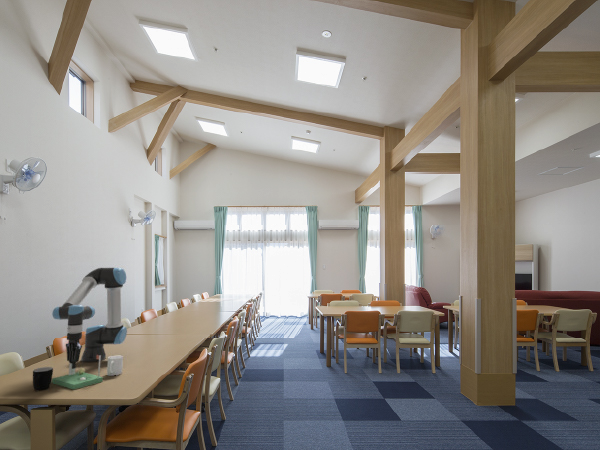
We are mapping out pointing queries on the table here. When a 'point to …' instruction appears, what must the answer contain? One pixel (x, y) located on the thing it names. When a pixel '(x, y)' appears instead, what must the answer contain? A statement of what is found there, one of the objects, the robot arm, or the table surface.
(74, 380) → the green
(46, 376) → the mug
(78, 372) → the yellow ball
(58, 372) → the table surface
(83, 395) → the table surface
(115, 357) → the cup
